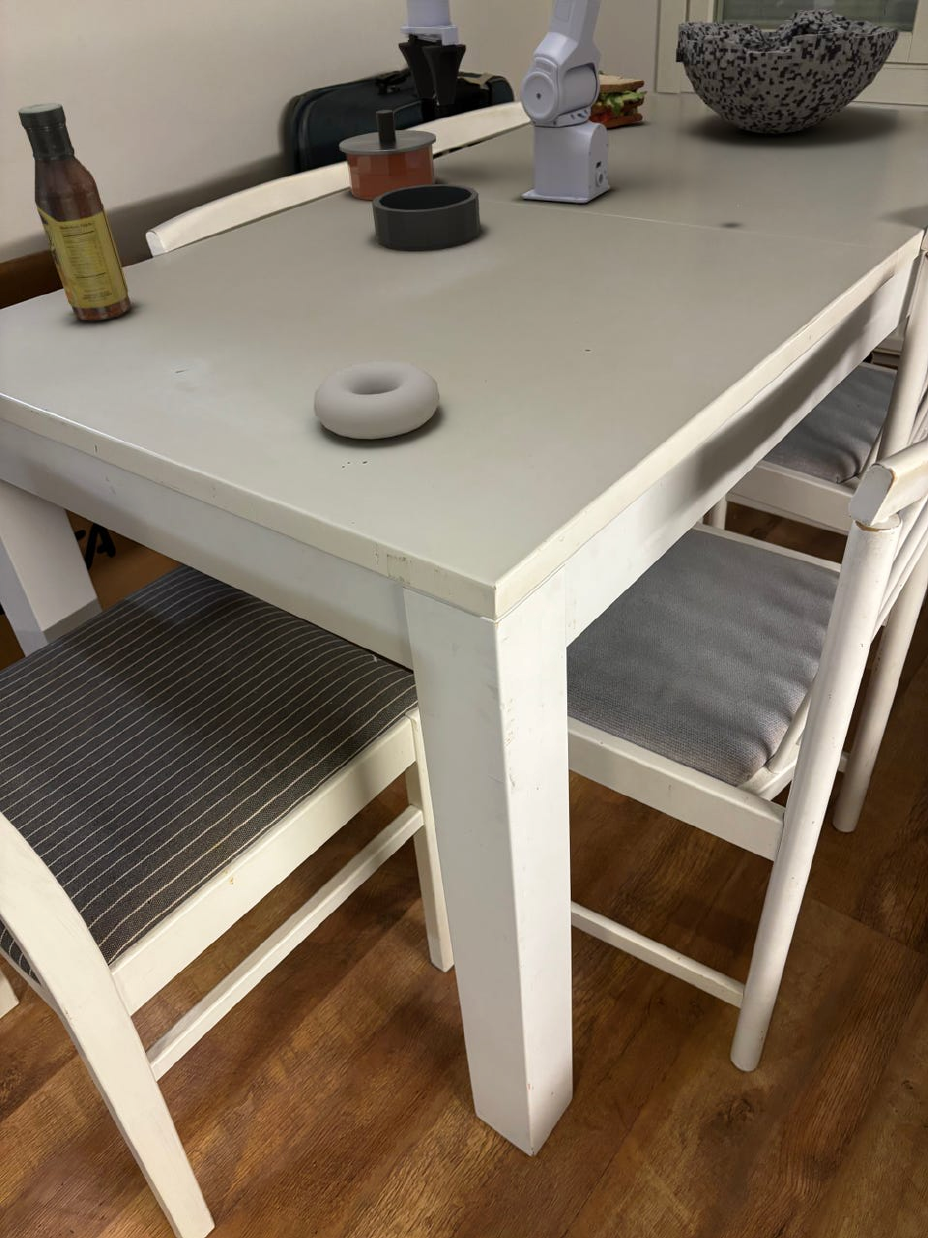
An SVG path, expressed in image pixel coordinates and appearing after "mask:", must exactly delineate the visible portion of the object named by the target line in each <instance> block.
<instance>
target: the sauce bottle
mask: <svg viewBox="0 0 928 1238" xmlns="http://www.w3.org/2000/svg"><path fill="white" fill-rule="evenodd" d="M17 112H18V116H19V120H20V124H21V126H22V128H23V129H24V130H25V132H26V137H27V139H28V142H29V145H30V147H31V151H32V157H33V159H34V203H35V207H36V209H37V210H36V211H37V213H38V215H39V219H40V221H41V225H42V227H43V230H44V234H45V236H46V239H47V243H48V246H49V248H50V251H51V254H52V257H53V261H54V263H55V266H56V269H57V272H58V275H59V278H60V281H61V284H62V287H63V290H64V294H65V297H66V299H67V302H68V304H69V305H70V306H71V309H72V311H73V314H74V315H75V316H76V317H77V319H78V320H80V321H90V322H91V321H93V322H95V321H102V320H111V319H115V318H119V317H120V316H121V315H123V314H125V313H127V312H128V311H129V310H130V309H131V306H132V303H131V299H130V297H129V294H128V293H129V288H128V283H127V280H126V277H125V273H124V270H123V267H122V264H121V259H120V256H119V253H118V250H117V246H116V243H115V239H114V236H113V233H112V228H111V226H110V222H109V219H108V216H107V213H106V209H105V205H104V204H103V202H102V199H101V197H100V192H99V189H98V185H97V183H96V180H95V178H94V176H93V175H92V174H91V171H89V170H88V169H87V168H86V166H85V165H84V164H82V162H81V161H80V160H79V159H78V158H77V157H76V156H75V153H76V152H75V151H76V150H75V148H74V146H73V143H72V141H71V137H70V135H69V130H68V126H67V118H66V114H65V110H64V107H63V105H62V104H61V103H59V102H58V103H57V102H46V103H37V104H32V105H28V106H24V107H21V108H19V109H18V110H17Z"/></svg>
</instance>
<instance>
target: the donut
mask: <svg viewBox="0 0 928 1238" xmlns="http://www.w3.org/2000/svg"><path fill="white" fill-rule="evenodd" d="M439 404H440V391H439V387H438V383H437V381H436V380H435V378H434V377H433V376H432V375H431V374H430V373H429V372H428V371H427V370H426V369H424V368H423V367H421V366H418V365H415V364H413V363H409V362H405V361H397V360H374V361H365V362H360V363H357V364H352V365H349V366H347V367H344V368H341V369H339V370H336V371H335V372H333V373H331V374H329V376H327V377H325V379H323V381H322V382H321V383H320V384H319V385H318V386H317V388H316V390H315V392H314V396H313V409H314V410H313V411H314V414H315V416H316V417H317V419H318V420H319V421H320V423H321V424H322V425H323V426H324V428H326V429H327V430H328V431H330V432H333V433H335V434H336V435H339V436H341V437H345V438H351V439H357V440H378V439H388V438H392V437H395V436H400V435H404V434H407V433H409V432H411V431H413V430H416V429H418V428H420V427H421V426H422V425H424V424H425V423H426V422H427V421H429V420H430V419H431V418H432V417H433V415H434V414H435V412H436V411H437V408H438V406H439Z"/></svg>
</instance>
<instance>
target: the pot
mask: <svg viewBox="0 0 928 1238" xmlns="http://www.w3.org/2000/svg"><path fill="white" fill-rule="evenodd" d="M345 158H346V167H347V172H348V180H349V181H348V182H349V187H350V192H351V196H353V197H354V198H356V199H359V200H364V201H366V200H367V201H373V200H374V199H375V198H376V197H377V196H379V195H382V194H384V193H386V192H389V191H392V190H396V189H400V188H405V187H412V186H420V185H432V184H435V183H436V175H435V163H434V150H433V144H432V145H430V146H427V147H425V148H421V149H417V150H413V151H408V152H402V153H395V154H384V155H355V154H349V153H345Z"/></svg>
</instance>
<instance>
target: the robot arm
mask: <svg viewBox="0 0 928 1238" xmlns="http://www.w3.org/2000/svg"><path fill="white" fill-rule="evenodd" d="M601 2H602V0H554V2H553V6H552V11H551V16H550V22H549V26H548V27H549V28H548V32H547V33H546V35H545V36H544V37H543V39H542V40H541V42H540V43H539V45H538V46H537V48H536V49H535V50H534V52H533V53H532V59H531V64H530V67H529V69H528V70H527V72H526V74H525V75H524V77H523V79H522V80H521V84H520V90H519V99H520V103H521V107H522V109H523V111H524V113H525V115H526V116H527V117H528V118H529V122H530V126H532V144H533V148H532V149H533V187H534V188H532V189H530V190H528V191H527V192H525V193H523V194H521V198H522V199H525V200H535V201H536V200H537V201H552V202H560V203H561V202H562V203H563V202H564V203H575V204H576V203H577V204H586V203H589V202H590V201H592V200H593V199H596V198H597V197H599V196H600V195H602V194H604V193H605V192H607V191H609V190H610V189H611V185H610V184H609V147H610V146H609V143H610V142H609V133H608V128H606V127H605V126H604V125H603V124H600V123H593V122H591V121H590V120H588V119H589V116H590V109H591V106H592V105H593V104H594V103H595V101H596V99H597V97H598V94H599V90H600V79H599V71H600V70H599V66H600V61H601V57H602V54H601V51H600V50H599V48H598V47H597V45H596V44H595V42H594V34H595V30H596V26H597V21H598V17H599V11H600V7H601ZM405 3H406V13H407V20H406V21H403V26H400V27H399V28H400V29H399V30H400V34H404V37H405V39H407V41H404V42H398V45H397V46H398V49H399V51H400V52H401V54H402V57H403V58H404V60H405V62H406V64H407V67H408V69H409V73H410V75H411V79H412V83H413V86H414V91H415V93H416V96H417V98H418V99H419V100H422V99H427V98H428V99H429V98H433V97H434V95H435V98H436V102H437V105H438V106H439V107H440V106H441V107H442V106H448V105H453V104H455V98H456V94H457V93H456V91H457V85H458V77H459V72H460V69H461V64H462V61H463V59H464V56H465V53H466V51H467V45H466V44H463V43H459V28H458V26H456V25H454V23H453V22H452V20H451V7H450V0H405ZM434 93H435V94H434Z"/></svg>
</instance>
